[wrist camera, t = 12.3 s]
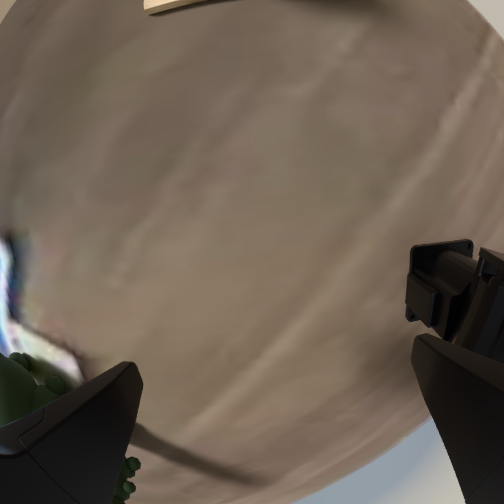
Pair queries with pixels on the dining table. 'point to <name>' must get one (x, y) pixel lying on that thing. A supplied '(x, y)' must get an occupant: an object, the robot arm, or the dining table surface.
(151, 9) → the coaster
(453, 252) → the robot arm
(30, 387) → the toy figurine
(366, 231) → the dining table surface
